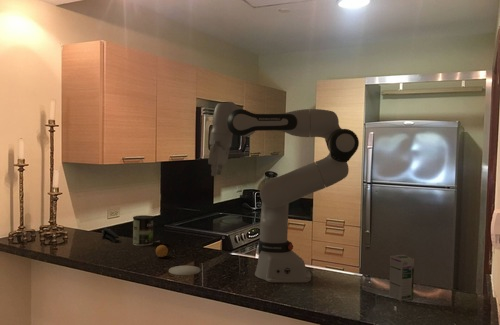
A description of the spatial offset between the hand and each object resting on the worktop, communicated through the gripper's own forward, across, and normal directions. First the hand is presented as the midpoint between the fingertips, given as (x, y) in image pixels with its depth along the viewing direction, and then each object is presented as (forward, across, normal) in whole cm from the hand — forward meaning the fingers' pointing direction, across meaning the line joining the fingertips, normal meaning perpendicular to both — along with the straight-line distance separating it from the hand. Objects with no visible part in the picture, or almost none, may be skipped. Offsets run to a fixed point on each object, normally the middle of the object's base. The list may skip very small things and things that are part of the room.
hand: (216, 175), depth 165 cm
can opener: (+47, +44, +62) cm, 89 cm away
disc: (+41, -1, +8) cm, 41 cm away
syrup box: (+32, -14, -74) cm, 82 cm away
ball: (+40, +17, +24) cm, 49 cm away
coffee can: (+44, +39, +42) cm, 73 cm away
